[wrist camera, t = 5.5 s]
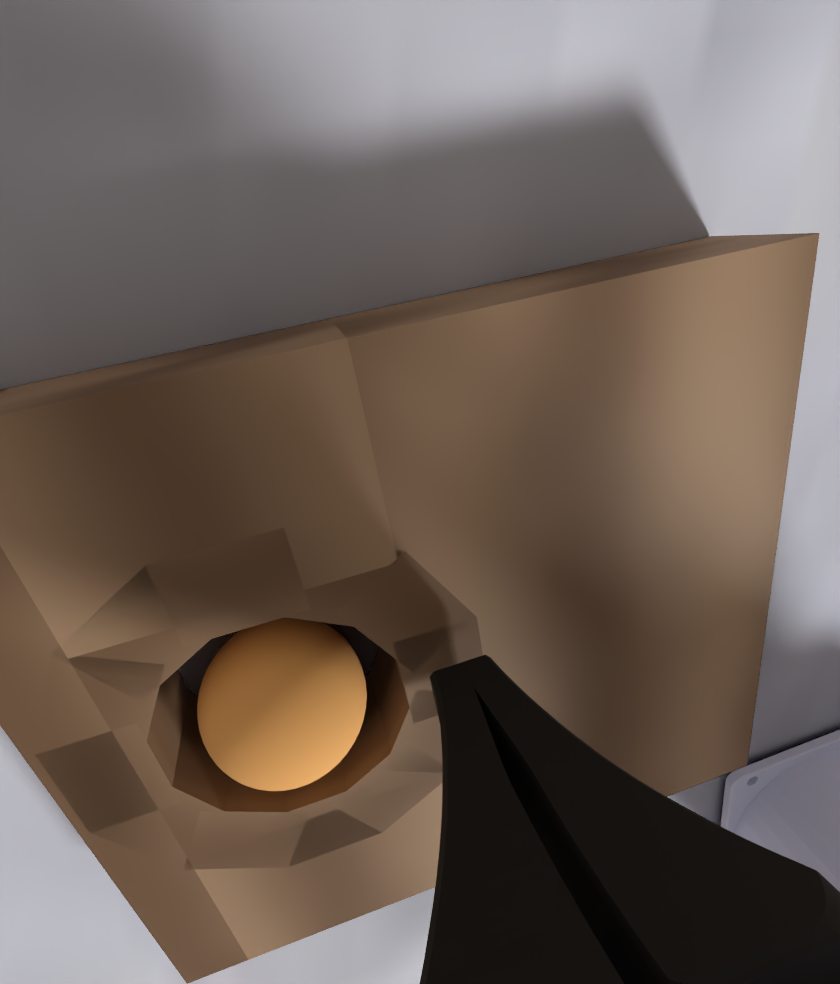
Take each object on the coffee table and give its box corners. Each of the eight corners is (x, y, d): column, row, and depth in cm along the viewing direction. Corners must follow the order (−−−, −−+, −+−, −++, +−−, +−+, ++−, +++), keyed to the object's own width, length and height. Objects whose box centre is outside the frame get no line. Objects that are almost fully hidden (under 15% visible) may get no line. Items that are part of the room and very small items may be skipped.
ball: (132, 693, 12) (253, 563, 14) (189, 774, 14) (282, 651, 17) (288, 776, 10) (390, 614, 13) (320, 850, 13) (399, 702, 15)
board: (711, 236, 14) (819, 232, 11) (685, 699, 21) (747, 765, 18) (-81, 407, 11) (-194, 457, 8) (198, 874, 18) (187, 983, 15)
